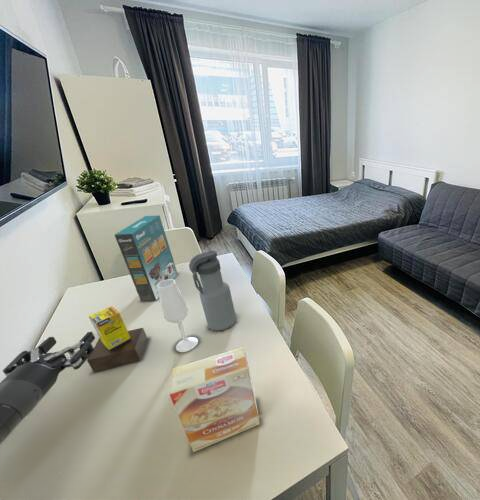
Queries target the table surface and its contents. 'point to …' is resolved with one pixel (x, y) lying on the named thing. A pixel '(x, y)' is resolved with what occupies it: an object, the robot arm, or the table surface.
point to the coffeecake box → (214, 398)
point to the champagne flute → (175, 311)
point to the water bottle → (213, 291)
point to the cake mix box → (147, 255)
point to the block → (118, 352)
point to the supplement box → (110, 328)
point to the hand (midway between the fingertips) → (72, 336)
